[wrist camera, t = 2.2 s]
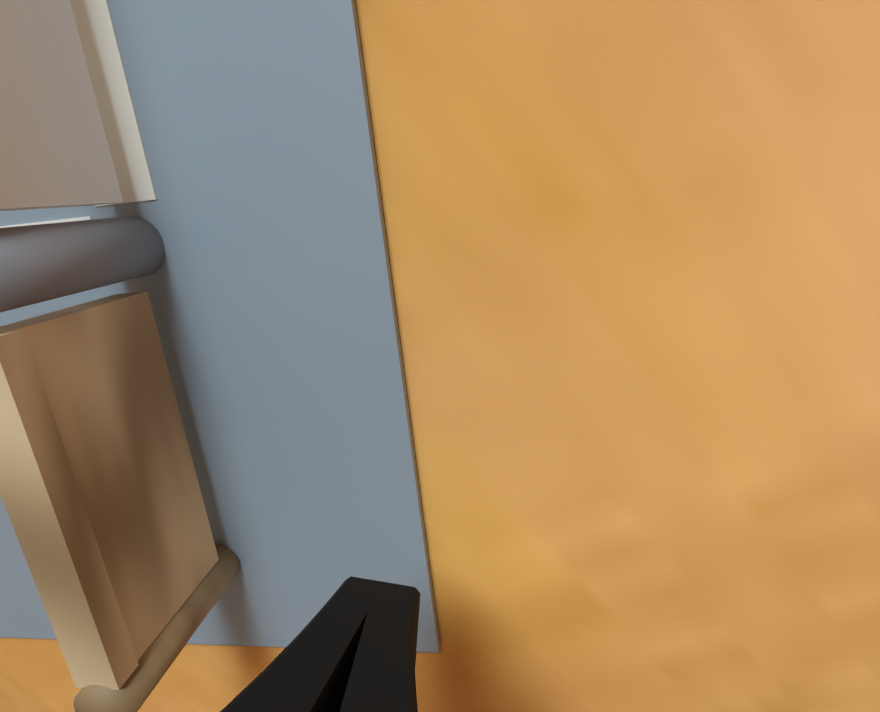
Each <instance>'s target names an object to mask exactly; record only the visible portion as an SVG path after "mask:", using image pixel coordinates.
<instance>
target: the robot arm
mask: <svg viewBox="0 0 880 712" xmlns="http://www.w3.org/2000/svg"><path fill="white" fill-rule="evenodd" d="M419 607H420V592H419V591H418V590H417V589H416V588H415V587H412V586H406V585H400V584H394V583H388V582H382V581H376V580H370V579H364V578H358V577H352V576H351V577H349V578H348V579H346V580H345V581H344V582H343V583H342V585H341V586H340V587H339V588H338V590H337V591H336V592H335V593H334V594H333V596H332V597H331V598H330V599H329V600H328V602H327V603H326V604H325V605H324V606H323V607H322V609H321V610H320V611H319V612H318V613H317V614H316V615H315V617H314V618H313V619H312V620H311V621H310V622H309V623H308V624H307V626H306V627H305V628H304V629H303V630H302V631H301V632H300V633H299V634H298V635H297V636H296V637H295V639H294V640H293V641H292V642H291V643H290V644H289V645H288V646H287V647H286V648H285V649H284V650H283V651H282V652H281V653H280V654H279V655H278V656H277V657H276V658H275V659H274V661H273V662H272V663H271V664H270V665H269V666H268V667H267V668H266V669H265V670H264V671H263V672H262V673H261V674H260V675H258V676H257V677H256V678H255V679H254V680H253V681H252V682H251V683H250V684H249V685H248V686H247V687H246V688H245V689H244V690H243V691H242V692H241V693H240V694H239V695H237V696H236V697H235V698H234V699H233V700H232V701H231V702H230V703H229V704H228V705H227V706H226V707H225V708H224V709H223V710H222V711H220V712H418V709H417V697H416V682H415V661H416V647H417V634H418V620H419Z"/></svg>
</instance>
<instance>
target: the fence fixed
mask: <svg viewBox="0 0 880 712" xmlns="http://www.w3.org/2000/svg"><path fill="white" fill-rule="evenodd" d="M120 202H123V199H122V195H121V191H120V188H119V184H118V180H117V176H116V173H115V169H114V165H113V161H112V158H111V154H110V150H109V146H108V143H107V139H106V135H105V131H104V128H103V124H102V120H101V117H100V113H99V109H98V105H97V102H96V98H95V94H94V90H93V87H92V83H91V79H90V75H89V72H88V68H87V64H86V60H85V57H84V53H83V49H82V45H81V42H80V38H79V34H78V30H77V27H76V23H75V19H74V16H73V12H72V8H71V4H70V1H69V0H0V211H14V210H31V209H47V208H64V207H81V206H95V205H103V204H112V203H120ZM164 257H165V246H164V242H163V239H162V237H161V235H160V233H159V232H158V230H157V229H156V228H155V227H154V226H153V225H152V224H151V223H150V222H149V221H147V220H145V219H143V218H141V217H137V216H126V217H115V218H104V219H93V220H82V221H71V222H60V223H49V224H38V225H28V226H17V227H6V228H0V313H1V312H5V311H9V310H13V309H16V308H20V307H24V306H28V305H32V304H36V303H40V302H44V301H48V300H52V299H56V298H60V297H64V296H68V295H72V294H76V293H80V292H83V291H87V290H91V289H95V288H99V287H103V286H107V285H111V284H115V283H119V282H123V281H127V280H131V279H135V278H139V277H143V276H147V275H150V274H153V273H155V272H156V271H157V270H158V269H159V268H160V267H161V265H162V263H163V261H164Z"/></svg>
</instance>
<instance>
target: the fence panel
mask: <svg viewBox="0 0 880 712" xmlns="http://www.w3.org/2000/svg"><path fill="white" fill-rule="evenodd" d="M0 495H1V498H2V500H3V503H4V505H5V508H6V511H7V513H8V516H9V518H10V521H11V523H12V526H13V528H14V531H15V533H16V536H17V539H18V541H19V544H20V546H21V549H22V551H23V554H24V556H25V559H26V562H27V564H28V567H29V569H30V572H31V574H32V577H33V579H34V582H35V585H36V587H37V590H38V592H39V595H40V597H41V600H42V602H43V605H44V607H45V610H46V613H47V615H48V618H49V620H50V623H51V625H52V628H53V630H54V633H55V636H56V638H57V641H58V643H59V646H60V648H61V651H62V653H63V656H64V659H65V661H66V664H67V666H68V669H69V671H70V674H71V676H72V679H73V681H74V684H75V687H76V688H82V689H81V690H80V691H79V693H78V694H77V695H76V696H75V699H74V708H75V711H76V712H137V711H138V710H139V708H140V707H141V706H142V704H143V703H144V701H145V700H146V699H147V697H148V696H149V695H150V693H151V692H152V690H153V689H154V688H155V686H156V685H157V684H158V682H159V681H160V679H161V678H162V677H163V675H164V674H165V672H166V671H167V670H168V668H169V667H170V666H171V664H172V663H173V661H174V660H175V659H176V657H177V656H178V655H179V653H180V652H181V650H182V649H183V648H184V646H185V645H186V643H187V642H188V641H189V639H190V638H191V637H192V635H193V634H194V632H195V631H196V630H197V628H198V627H199V625H200V624H201V623H202V621H203V620H204V619H205V617H206V616H207V614H208V613H209V612H210V610H211V609H212V608H213V606H214V605H215V603H216V602H217V601H218V599H219V598H220V596H221V595H222V594H223V592H224V591H225V590H226V588H227V587H228V585H229V584H230V583H231V581H232V580H233V579H234V577H235V576H236V574H237V573H238V570H239V562H238V559H237V557H236V556H235V555H234V553H233V552H232V551H230V550H229V549H228V548H226V547H224V546H221V545H215V543H214V539H213V536H212V532H211V528H210V524H209V521H208V517H207V513H206V509H205V506H204V502H203V498H202V494H201V491H200V487H199V483H198V479H197V476H196V472H195V468H194V464H193V461H192V457H191V453H190V449H189V446H188V442H187V438H186V435H185V431H184V427H183V423H182V420H181V416H180V412H179V408H178V405H177V401H176V397H175V393H174V390H173V386H172V382H171V378H170V375H169V371H168V367H167V363H166V360H165V356H164V352H163V348H162V345H161V341H160V337H159V334H158V330H157V326H156V322H155V319H154V315H153V311H152V307H151V304H150V300H149V296H148V292H147V291H144V292H133V293H121V294H115V295H111V296H107V297H104V298H100V299H97V300H93V301H90V302H86V303H82V304H79V305H75V306H72V307H68V308H65V309H61V310H57V311H54V312H50V313H47V314H43V315H40V316H36V317H32V318H29V319H25V320H22V321H18V322H15V323H11V324H8V325H4V326H0Z"/></svg>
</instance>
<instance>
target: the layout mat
mask: <svg viewBox="0 0 880 712" xmlns="http://www.w3.org/2000/svg"><path fill="white" fill-rule="evenodd" d="M69 1H70V4H71V8H72V12H73V16H74V19H75V23H76V27H77V30H78V34H79V38H80V42H81V45H82V49H83V53H84V57H85V60H86V64H87V68H88V72H89V75H90V79H91V83H92V87H93V90H94V94H95V98H96V102H97V105H98V109H99V113H100V117H101V120H102V124H103V128H104V131H105V135H106V139H107V143H108V146H109V150H110V154H111V158H112V161H113V165H114V169H115V173H116V176H117V180H118V184H119V188H120V191H121V195H122V199H123V202H120V203H112V204H103V205H95V206H81V207H64V208H47V209H31V210H14V211H0V228H6V227H17V226H28V225H38V224H49V223H60V222H71V221H82V220H93V219H104V218H115V217H126V216H137V217H141V218H143V219H145V220H147V221H149V222H150V223H151V224H152V225H153V226H154V227H155V228H156V229H157V230H158V232H159V233H160V235H161V237H162V239H163V242H164V246H165V257H164V261H163V263H162V265H161V267H160V268H159V269H158V270H157V271H156V272H155V273H153V274H150V275H147V276H143V277H139V278H135V279H131V280H127V281H123V282H119V283H115V284H111V285H107V286H103V287H99V288H95V289H91V290H87V291H83V292H80V293H76V294H72V295H68V296H64V297H60V298H56V299H52V300H48V301H44V302H40V303H36V304H32V305H28V306H24V307H20V308H16V309H13V310H9V311H5V312H1V313H0V326H4V325H8V324H11V323H15V322H18V321H22V320H25V319H29V318H32V317H36V316H40V315H43V314H47V313H50V312H54V311H57V310H61V309H65V308H68V307H72V306H75V305H79V304H82V303H86V302H90V301H93V300H97V299H100V298H104V297H107V296H111V295H115V294H121V293H133V292H144V291H147V292H148V296H149V300H150V304H151V307H152V311H153V315H154V319H155V322H156V326H157V330H158V334H159V337H160V341H161V345H162V348H163V352H164V356H165V360H166V363H167V367H168V371H169V375H170V378H171V382H172V386H173V390H174V393H175V397H176V401H177V405H178V408H179V412H180V416H181V420H182V423H183V427H184V431H185V435H186V438H187V442H188V446H189V449H190V453H191V457H192V461H193V464H194V468H195V472H196V476H197V479H198V483H199V487H200V491H201V494H202V498H203V502H204V506H205V509H206V513H207V517H208V521H209V524H210V528H211V532H212V536H213V539H214V543H215V545H221V546H224V547H226V548H228V549H229V550H230V551H232V552H233V553H234V555H235V556H236V557H237V559H238V562H239V570H238V573H237V574H236V576H235V577H234V579H233V580H232V581H231V583H230V584H229V585H228V587H227V588H226V590H225V591H224V592H223V594H222V595H221V596H220V598H219V599H218V601H217V602H216V603H215V605H214V606H213V608H212V609H211V610H210V612H209V613H208V614H207V616H206V617H205V619H204V620H203V621H202V623H201V624H200V625H199V627H198V628H197V630H196V631H195V632H194V634H193V635H192V637H191V638H190V639H189V641H188V642H187V643H186V644H205V645H233V646H262V647H287V646H288V645H289V644H290V643H291V642H292V641H293V640H294V639H295V637H296V636H297V635H298V634H299V633H300V632H301V631H302V630H303V629H304V628H305V627H306V626H307V624H308V623H309V622H310V621H311V620H312V619H313V618H314V617H315V615H316V614H317V613H318V612H319V611H320V610H321V609H322V607H323V606H324V605H325V604H326V603H327V602H328V600H329V599H330V598H331V597H332V596H333V594H334V593H335V592H336V591H337V590H338V588H339V587H340V586H341V585H342V583H343V582H344V581H345V580H346V579H348V578H349V577H351V576H352V577H358V578H364V579H370V580H376V581H382V582H388V583H394V584H400V585H406V586H412V587H415V588H416V589H417V590H418V591H419V592H420V607H419V620H418V634H417V647H416V652H431V653H439V647H440V641H439V633H438V625H437V618H436V610H435V603H434V595H433V587H432V580H431V572H430V565H429V557H428V550H427V542H426V534H425V527H424V519H423V512H422V504H421V497H420V489H419V481H418V474H417V466H416V459H415V451H414V443H413V436H412V428H411V421H410V413H409V406H408V398H407V390H406V383H405V375H404V368H403V360H402V352H401V345H400V337H399V330H398V322H397V315H396V307H395V299H394V292H393V284H392V277H391V269H390V262H389V254H388V246H387V239H386V231H385V224H384V216H383V208H382V201H381V193H380V186H379V178H378V171H377V163H376V155H375V148H374V140H373V133H372V125H371V118H370V110H369V102H368V95H367V87H366V80H365V72H364V64H363V57H362V49H361V42H360V34H359V27H358V19H357V11H356V4H355V0H69ZM0 637H8V638H36V639H57V638H56V636H55V633H54V630H53V628H52V625H51V623H50V620H49V618H48V615H47V613H46V610H45V607H44V605H43V602H42V600H41V597H40V595H39V592H38V590H37V587H36V585H35V582H34V579H33V577H32V574H31V572H30V569H29V567H28V564H27V562H26V559H25V556H24V554H23V551H22V549H21V546H20V544H19V541H18V539H17V536H16V533H15V531H14V528H13V526H12V523H11V521H10V518H9V516H8V513H7V511H6V508H5V505H4V503H3V500H2V498H1V495H0Z"/></svg>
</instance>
